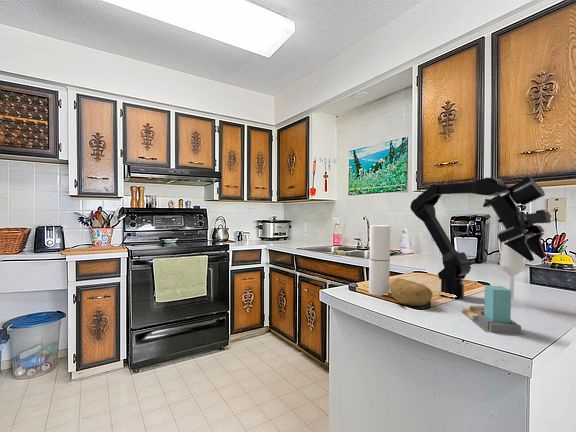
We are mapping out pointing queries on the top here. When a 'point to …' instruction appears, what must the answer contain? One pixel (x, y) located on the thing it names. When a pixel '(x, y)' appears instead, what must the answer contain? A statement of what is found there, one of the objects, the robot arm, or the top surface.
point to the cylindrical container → (379, 260)
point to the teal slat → (497, 304)
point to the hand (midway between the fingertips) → (538, 259)
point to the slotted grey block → (497, 326)
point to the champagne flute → (511, 267)
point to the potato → (410, 292)
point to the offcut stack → (473, 311)
